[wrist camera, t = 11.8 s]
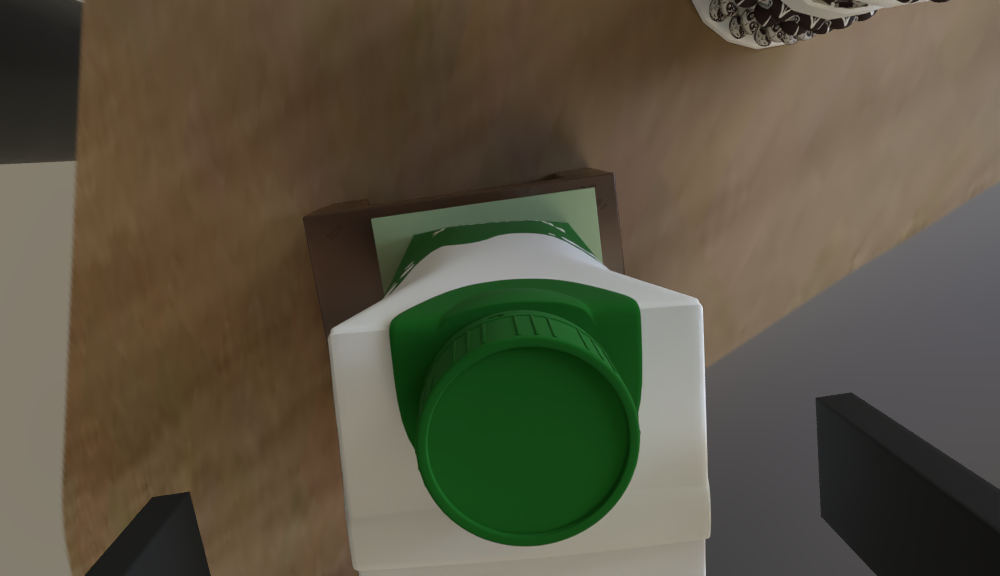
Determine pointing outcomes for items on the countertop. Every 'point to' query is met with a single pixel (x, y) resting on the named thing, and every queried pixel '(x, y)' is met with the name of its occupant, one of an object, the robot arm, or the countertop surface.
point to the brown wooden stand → (390, 227)
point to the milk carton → (522, 413)
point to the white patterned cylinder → (785, 18)
